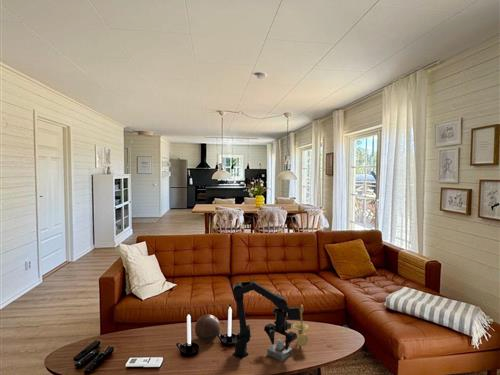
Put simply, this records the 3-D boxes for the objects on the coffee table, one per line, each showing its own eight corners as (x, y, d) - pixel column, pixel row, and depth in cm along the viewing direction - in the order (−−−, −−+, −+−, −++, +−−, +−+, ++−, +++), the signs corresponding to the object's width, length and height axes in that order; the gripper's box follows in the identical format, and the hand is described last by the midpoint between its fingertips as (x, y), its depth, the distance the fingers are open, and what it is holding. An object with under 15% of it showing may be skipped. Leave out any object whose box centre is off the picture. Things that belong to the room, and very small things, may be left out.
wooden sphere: (222, 344, 182) (223, 319, 181) (197, 348, 176) (198, 322, 176) (215, 332, 195) (216, 309, 195) (192, 336, 190) (192, 312, 190)
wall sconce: (310, 352, 175) (312, 308, 175) (293, 351, 176) (295, 308, 175) (306, 339, 189) (307, 299, 189) (291, 339, 189) (292, 299, 189)
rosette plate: (282, 361, 166) (282, 353, 166) (267, 354, 172) (267, 346, 172) (292, 353, 173) (292, 346, 173) (277, 347, 180) (277, 339, 180)
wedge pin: (280, 356, 170) (280, 342, 170) (275, 354, 172) (276, 340, 172) (283, 354, 173) (283, 340, 173) (278, 352, 175) (279, 338, 175)
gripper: (302, 319, 173) (301, 347, 173) (275, 310, 184) (274, 336, 185) (292, 326, 164) (291, 355, 164) (263, 316, 176) (263, 343, 176)
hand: (279, 347), depth 173 cm, fingers open, 9 cm apart
